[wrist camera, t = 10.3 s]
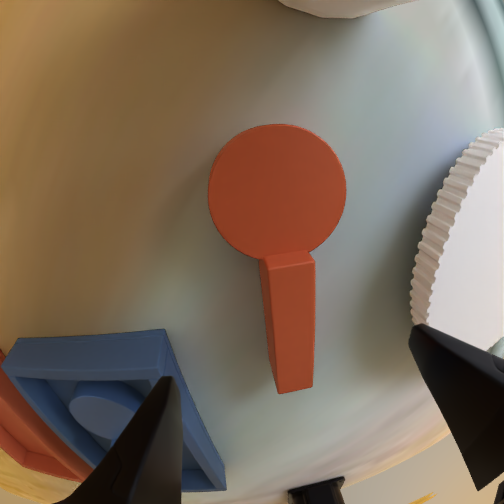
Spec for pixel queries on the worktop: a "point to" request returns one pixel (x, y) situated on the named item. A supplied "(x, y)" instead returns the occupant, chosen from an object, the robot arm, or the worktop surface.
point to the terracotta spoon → (280, 230)
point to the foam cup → (341, 7)
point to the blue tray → (107, 369)
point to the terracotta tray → (34, 437)
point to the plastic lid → (465, 249)
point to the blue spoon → (105, 406)
